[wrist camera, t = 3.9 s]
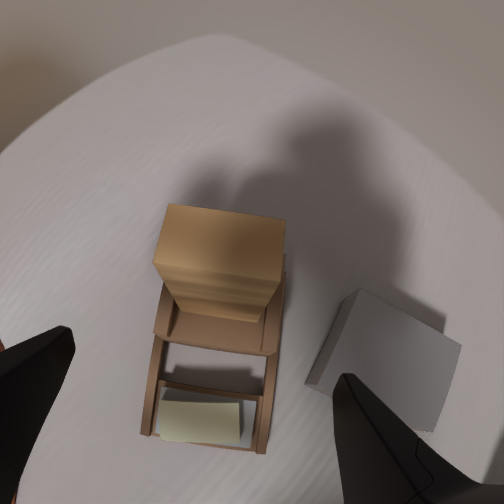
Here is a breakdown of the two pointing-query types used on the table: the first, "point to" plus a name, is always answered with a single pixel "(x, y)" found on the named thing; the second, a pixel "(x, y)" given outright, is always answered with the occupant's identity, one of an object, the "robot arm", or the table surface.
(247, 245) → the oak block
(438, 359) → the plinth
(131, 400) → the table surface
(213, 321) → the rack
